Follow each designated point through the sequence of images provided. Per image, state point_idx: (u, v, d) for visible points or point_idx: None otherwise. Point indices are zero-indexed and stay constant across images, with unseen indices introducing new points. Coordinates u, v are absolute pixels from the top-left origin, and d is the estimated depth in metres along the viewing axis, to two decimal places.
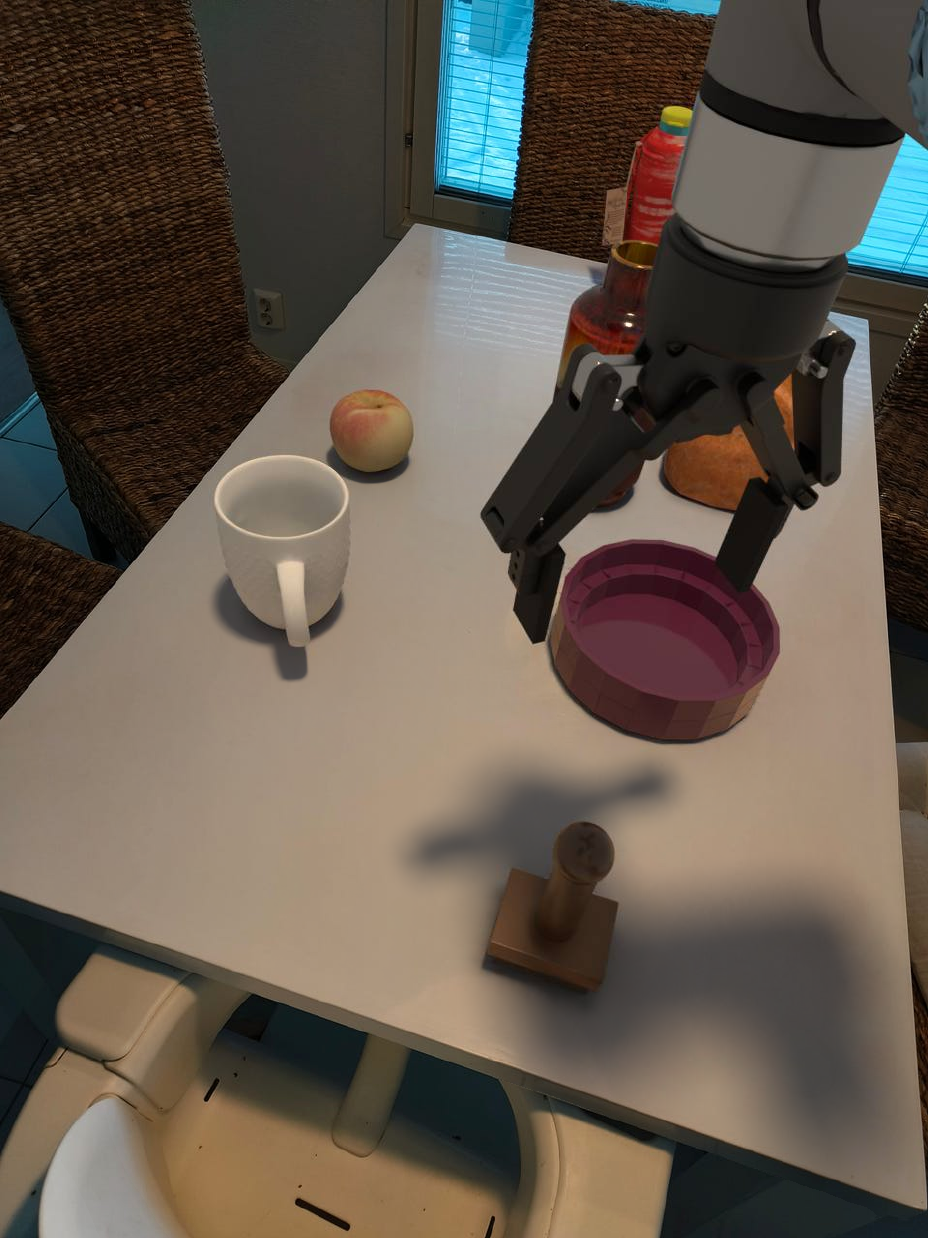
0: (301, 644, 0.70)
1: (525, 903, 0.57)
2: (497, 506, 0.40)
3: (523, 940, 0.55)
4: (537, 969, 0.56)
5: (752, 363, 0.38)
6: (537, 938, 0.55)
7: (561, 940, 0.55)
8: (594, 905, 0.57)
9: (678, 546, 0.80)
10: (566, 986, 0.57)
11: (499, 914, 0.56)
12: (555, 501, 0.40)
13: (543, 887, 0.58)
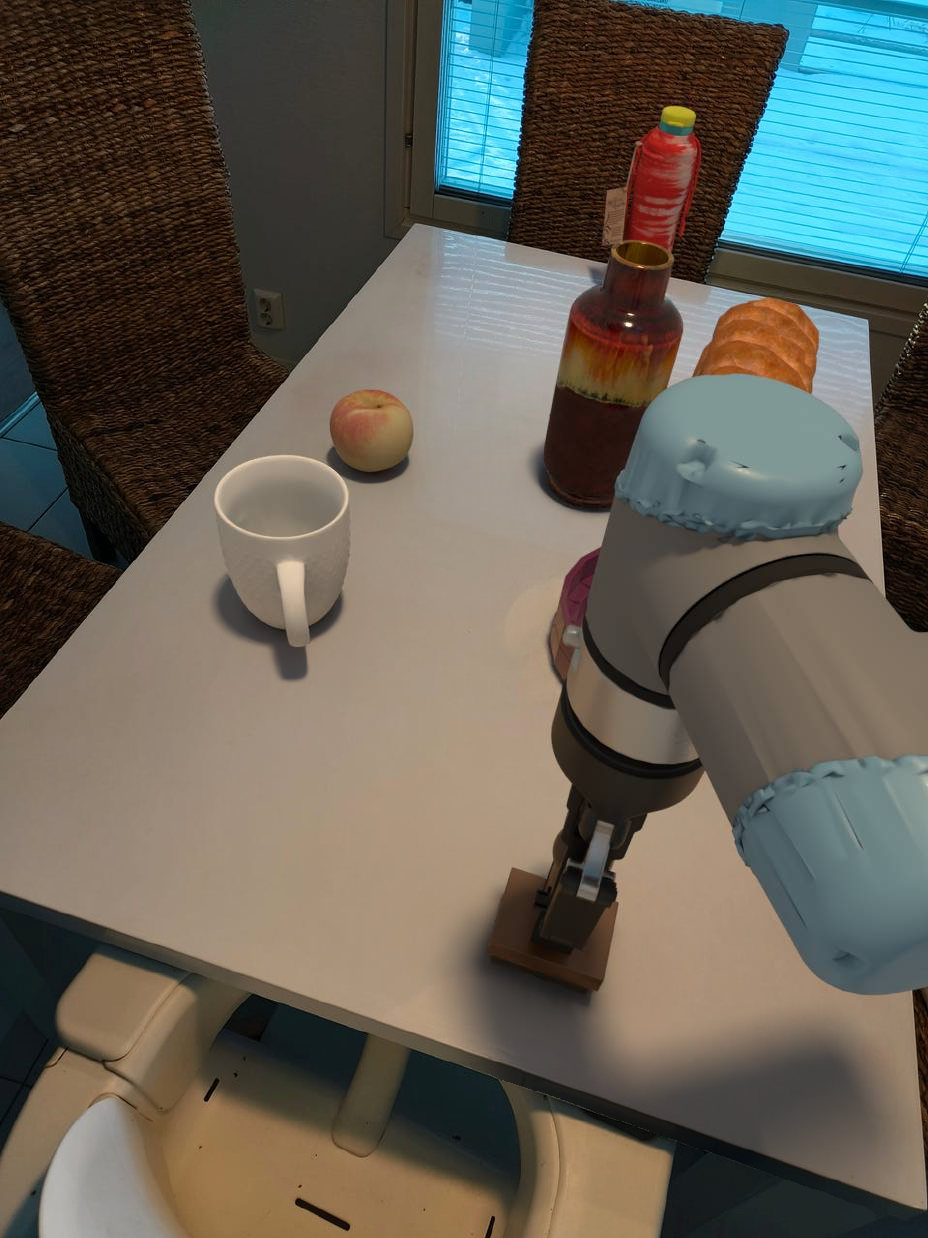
0: (301, 644, 0.70)
1: (525, 903, 0.57)
2: (556, 935, 0.46)
3: (523, 940, 0.55)
4: (537, 969, 0.56)
5: None
6: None
7: None
8: None
9: None
10: (566, 986, 0.57)
11: (499, 914, 0.56)
12: None
13: (543, 887, 0.58)
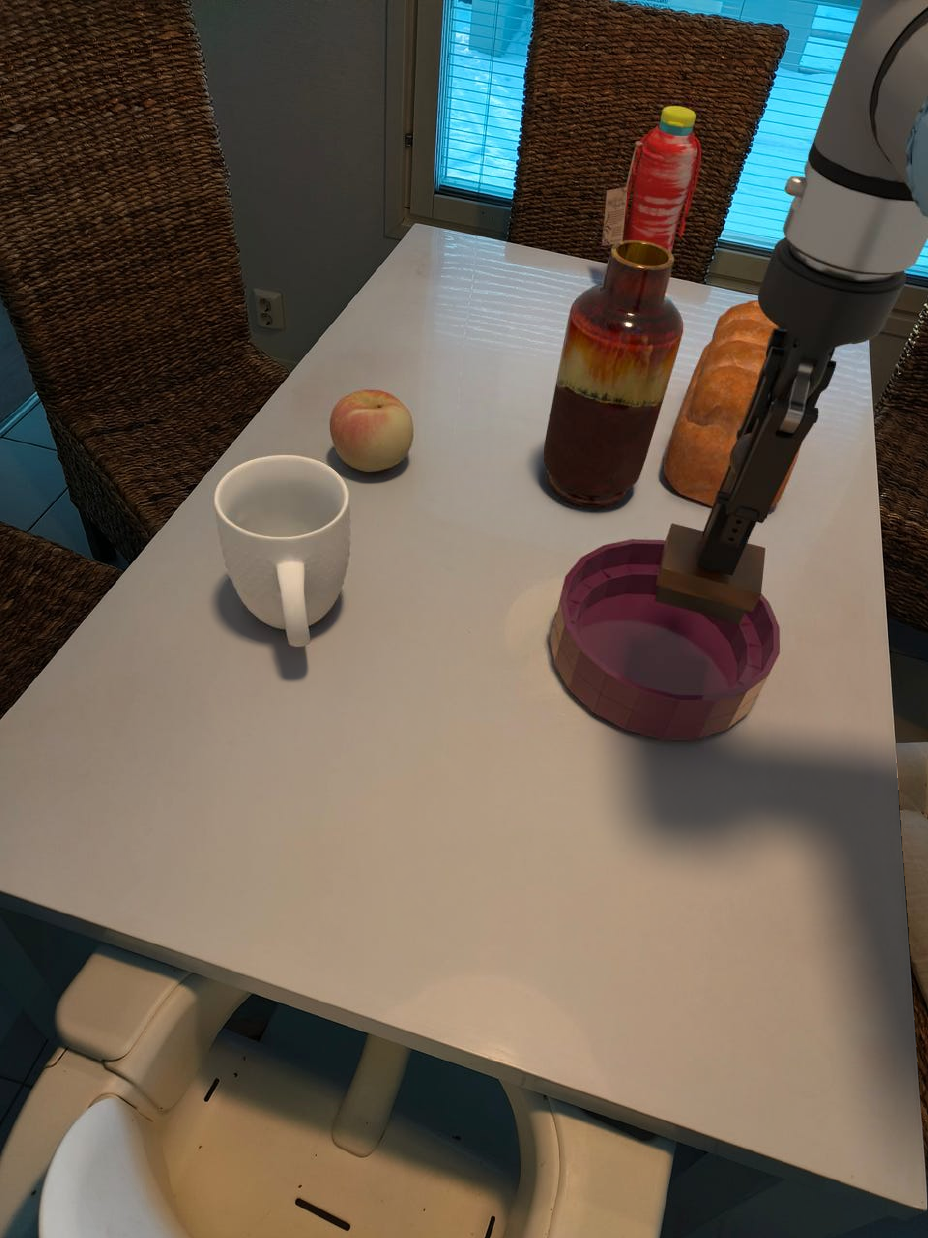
0: (301, 644, 0.70)
1: (687, 545, 0.67)
2: (744, 505, 0.56)
3: (689, 567, 0.65)
4: (700, 594, 0.66)
5: None
6: None
7: None
8: (745, 548, 0.67)
9: None
10: (721, 617, 0.67)
11: (666, 551, 0.66)
12: None
13: (700, 536, 0.68)
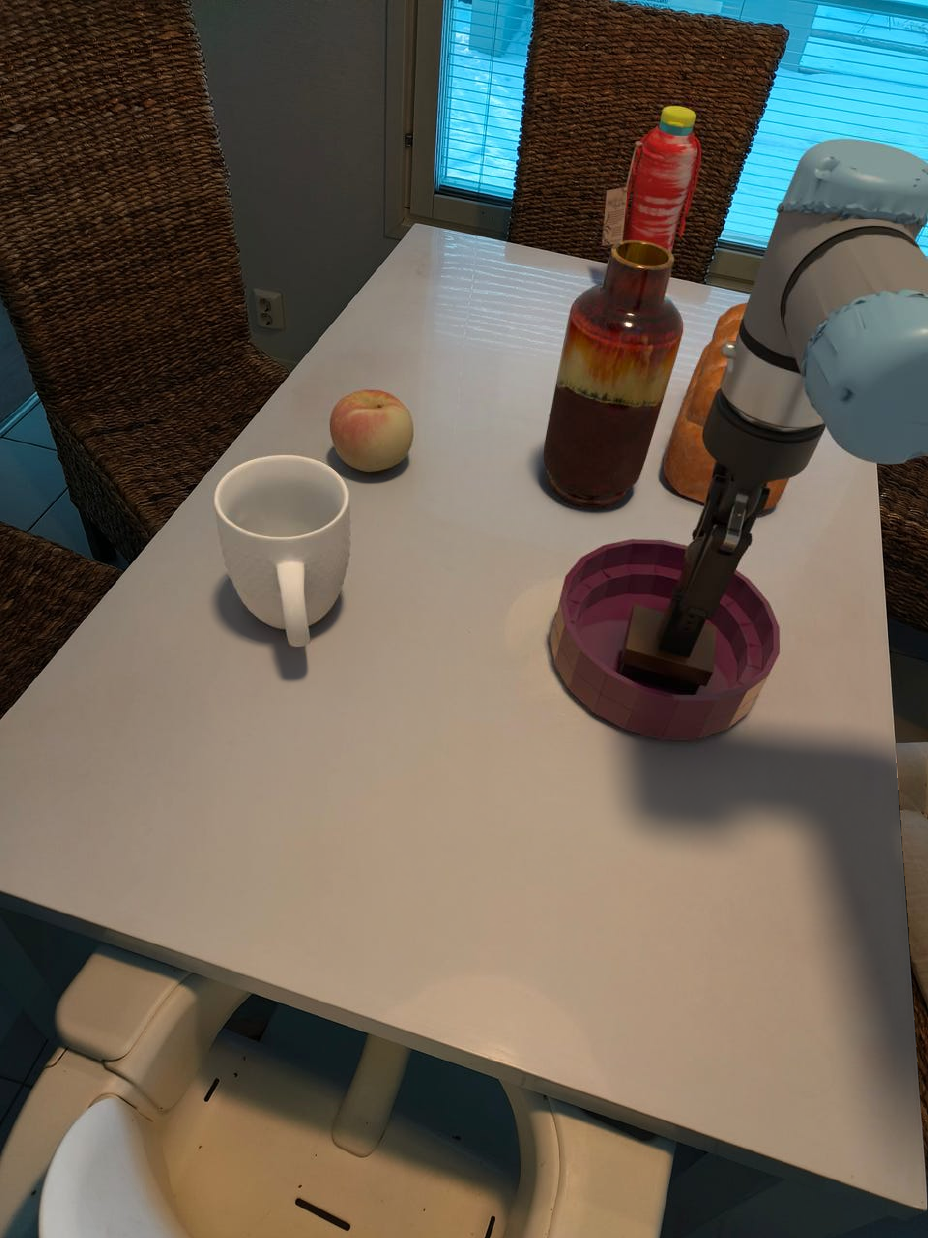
0: (301, 644, 0.70)
1: (648, 625, 0.75)
2: (694, 606, 0.64)
3: (650, 647, 0.73)
4: (660, 671, 0.74)
5: None
6: None
7: None
8: None
9: (678, 546, 0.80)
10: (679, 689, 0.75)
11: (630, 632, 0.74)
12: None
13: (660, 617, 0.76)
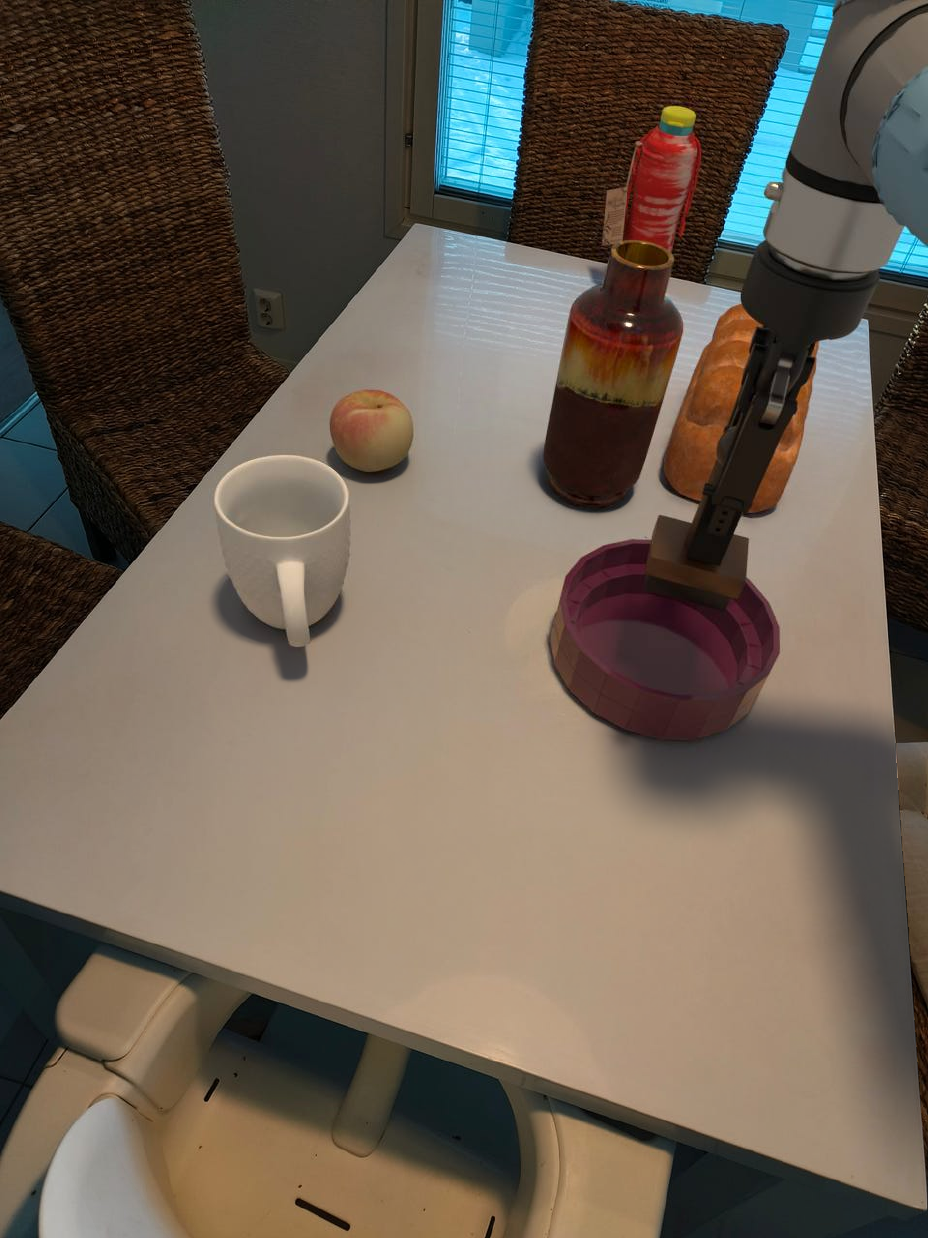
0: (301, 644, 0.70)
1: (674, 535, 0.69)
2: (729, 495, 0.59)
3: (677, 556, 0.67)
4: (688, 582, 0.68)
5: None
6: None
7: None
8: None
9: None
10: (708, 604, 0.69)
11: (655, 540, 0.68)
12: None
13: (687, 527, 0.70)
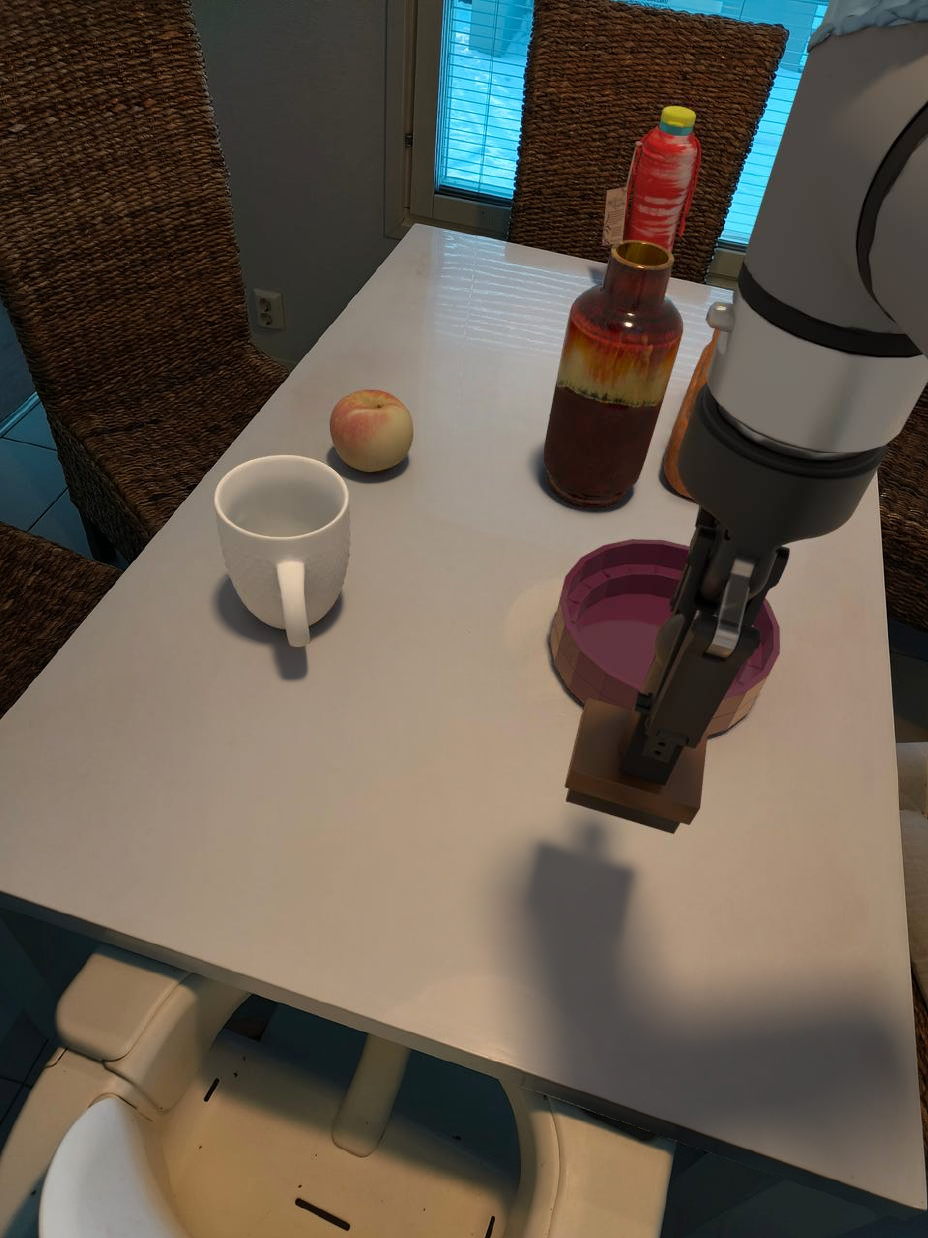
0: (301, 644, 0.70)
1: (605, 732, 0.51)
2: (667, 729, 0.41)
3: (607, 768, 0.49)
4: (622, 802, 0.50)
5: None
6: None
7: None
8: None
9: (678, 546, 0.80)
10: (651, 825, 0.51)
11: (578, 743, 0.50)
12: None
13: (624, 718, 0.52)
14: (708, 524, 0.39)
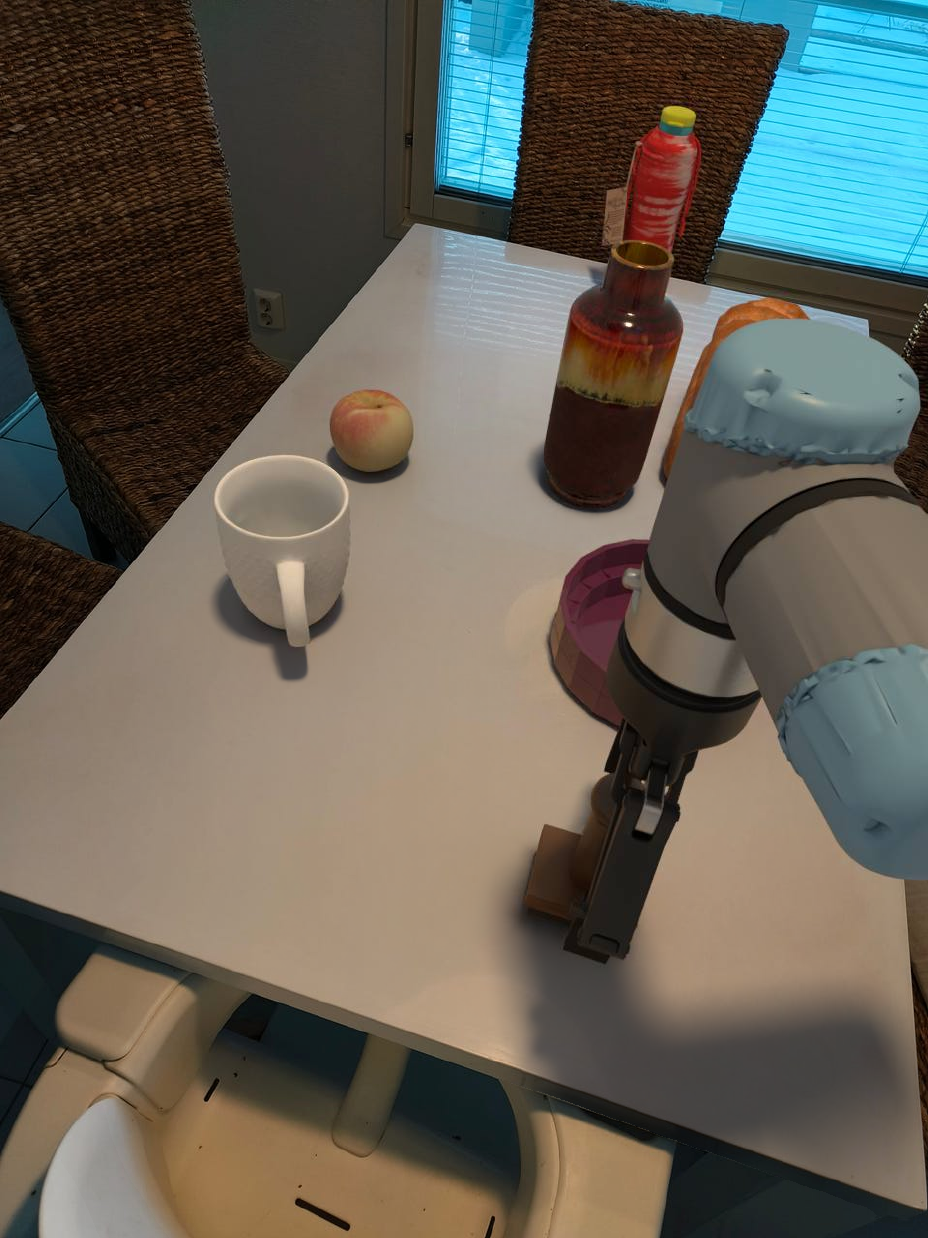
0: (301, 644, 0.70)
1: (559, 856, 0.60)
2: (599, 932, 0.43)
3: (559, 891, 0.58)
4: (572, 919, 0.58)
5: None
6: (572, 889, 0.58)
7: None
8: None
9: None
10: None
11: (535, 867, 0.59)
12: None
13: (575, 842, 0.60)
14: None
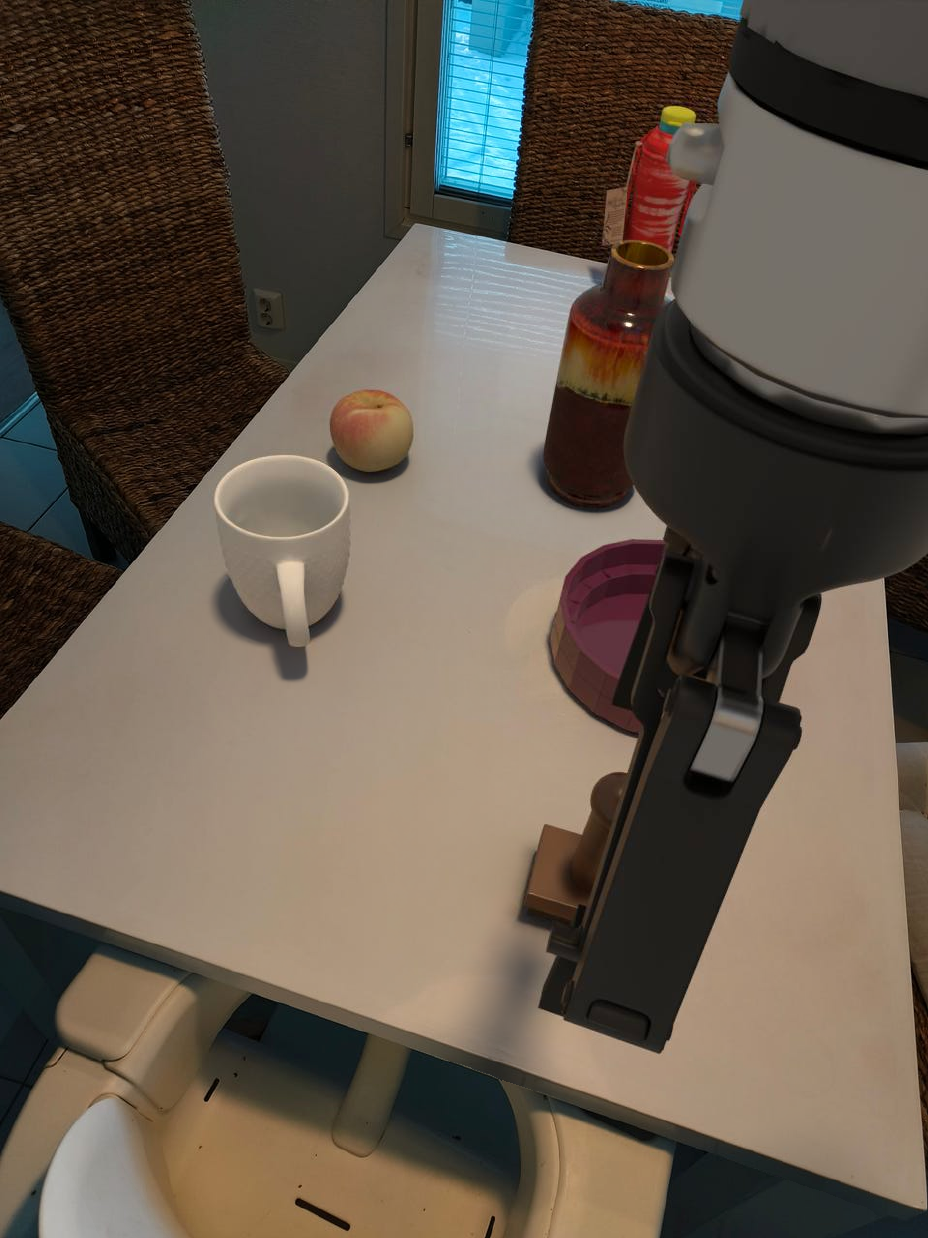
0: (301, 644, 0.70)
1: (559, 856, 0.60)
2: (608, 997, 0.20)
3: (559, 891, 0.58)
4: None
5: None
6: (572, 889, 0.58)
7: None
8: None
9: None
10: None
11: (535, 867, 0.59)
12: None
13: (575, 842, 0.60)
14: (683, 543, 0.24)
